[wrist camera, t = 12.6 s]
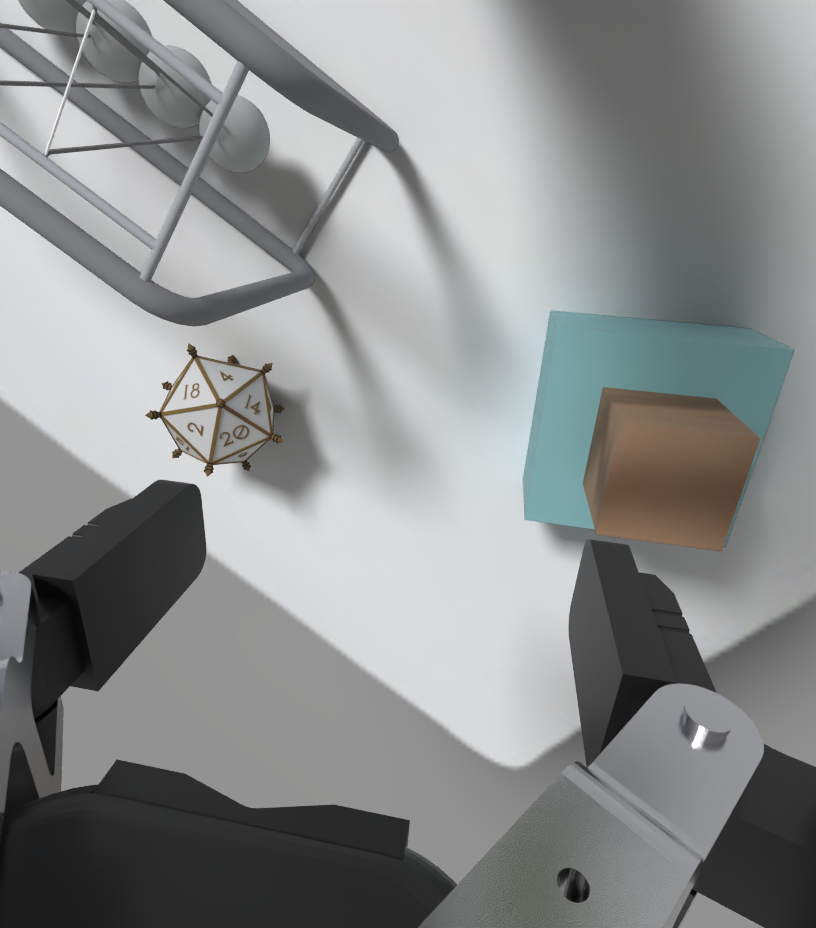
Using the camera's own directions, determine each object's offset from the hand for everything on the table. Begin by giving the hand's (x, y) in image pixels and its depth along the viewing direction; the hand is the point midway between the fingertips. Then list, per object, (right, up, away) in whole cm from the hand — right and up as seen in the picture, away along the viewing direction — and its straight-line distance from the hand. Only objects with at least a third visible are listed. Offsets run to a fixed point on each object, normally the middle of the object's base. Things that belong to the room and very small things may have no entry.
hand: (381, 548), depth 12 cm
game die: (-12, +7, +30) cm, 33 cm away
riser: (+15, +5, +26) cm, 31 cm away
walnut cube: (+14, +3, +21) cm, 25 cm away
